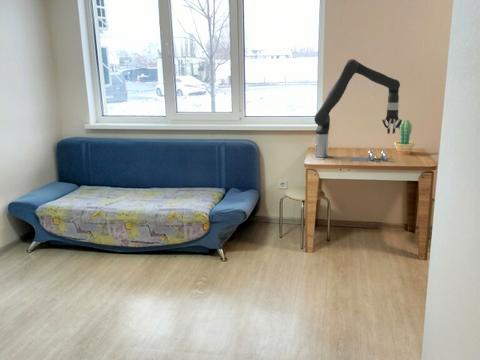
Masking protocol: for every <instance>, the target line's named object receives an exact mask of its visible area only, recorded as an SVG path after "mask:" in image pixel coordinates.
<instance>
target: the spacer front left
mask: <svg viewBox="0 0 480 360" xmlns="http://www.w3.org/2000/svg"><path fill="white" fill-rule="evenodd" d="M374 158H375V153H374V152H373V153H371V154H370V161H369V162H375V161H374Z"/></svg>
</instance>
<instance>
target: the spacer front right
mask: <svg viewBox="0 0 480 360" xmlns="http://www.w3.org/2000/svg"><path fill="white" fill-rule="evenodd" d="M388 157H389V153H387V152H386V153H384V154H383V161H382V162H386V161H387V162H388V159H389V158H388Z"/></svg>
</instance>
